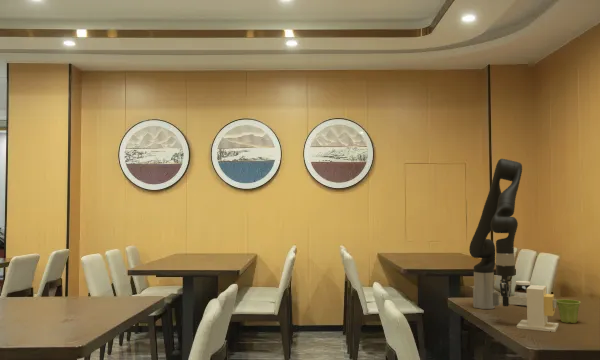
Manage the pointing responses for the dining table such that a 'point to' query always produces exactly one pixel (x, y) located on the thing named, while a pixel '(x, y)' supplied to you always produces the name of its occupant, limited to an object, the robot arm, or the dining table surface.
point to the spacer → (548, 305)
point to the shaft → (514, 300)
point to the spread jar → (521, 289)
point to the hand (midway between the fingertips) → (506, 305)
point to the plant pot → (568, 310)
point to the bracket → (536, 311)
